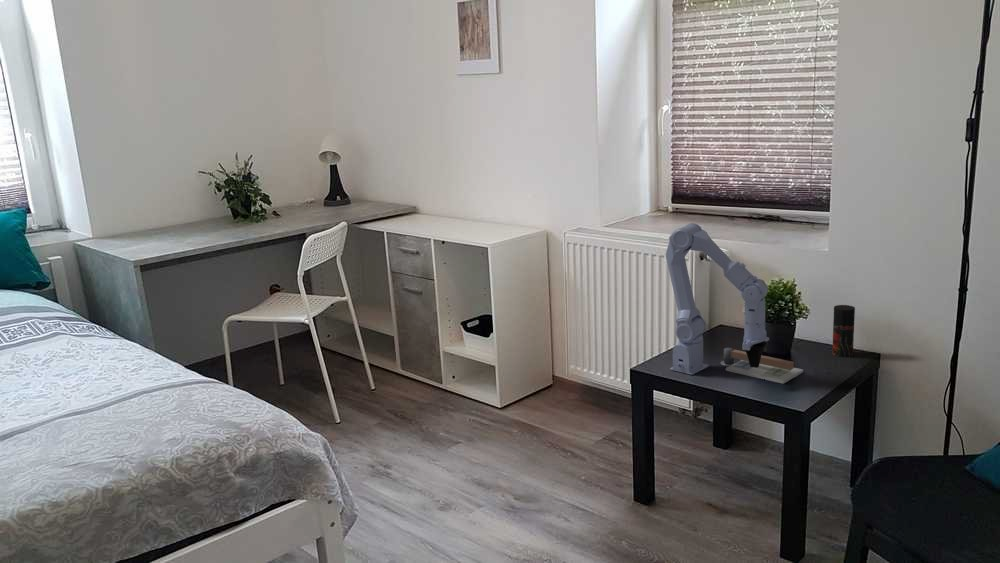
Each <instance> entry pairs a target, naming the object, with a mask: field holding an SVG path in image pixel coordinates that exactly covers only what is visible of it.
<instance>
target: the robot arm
mask: <svg viewBox="0 0 1000 563" xmlns="http://www.w3.org/2000/svg"><path fill="white" fill-rule="evenodd" d="M709 235H710V234H708V232H707V231H706V230H705V229H702V227H701V226H700V225H699V224H698V223H694V222H693V223H692V222H691V223H688V224H686V225H684V226H682V227H678V228H676V229H675V230H674V231H672V233H671V234H670V236H668V245H667V248H666V252H665V258H666V263H667V268H668V273H669V276H670V282H671V285H672V290H673V294H674V299H675V303H676V308H677V314H676V318H675V324H676V325H675V326H676V327H675V330H674V331H675V336H676V338H677V339H678V342H677V344H676V345H675V346H674V347H673V349H672V366H671V367H670V368H669V369H670V370H671V371H674V372H679V373H682V374H687V375H690V376H691V375H695V374H697V373H699V372H701V371H703V370H705V369H707V368H709V367H710V365H709V364H706V363H704V337H703V333H704V332H705V331H706V329H707V323H706V321H705V319H704V318H703V317H702V315H701V314H702V313H701V311H700V310H699V308H697V307H696V303H695V298H694V294H693V293H694V292H693V288H692V284H691V280H690V277H689V276H690V275H689V271H688V267H687V263H686V258H685V257H686V256H687V254H688V253H689V252H690V251H694V252H696V251H697V252H703V253H704V254H705V255H706V256H707V257H708V258H710V259H711V260H712V261H713V262H714V263H716V264H717V265H718V266H719V267H720V268H721V269H722V270H723V276H724V278H726V279H727V280H728V282H730V283H731V284H732V285H733V286H734V287H735V288H736V289H737V290H738V291H739V292H741V293H740V294H741V298H742V299H743V301H744V323H743V324H744V325H743V326H744V329H743V330H744V335H743V342H742V343H741V344H742V347H741V348H742V350H743V351H744V352H746V353H747V356H748V360H749V364H750V367H754V368H757V367H759V364H760V359H761V355H763V352H764V350H765V348H766V346H767V342H768V341H770V337H768V336H767V330H766V296H767V295H768V292H769V286H768V284H767V283H766V282H765V280H763V279H760V278H758V277H757V276H756V275H753V274H752V273H751V271H749V270H748V269H747V268H746V264H745V263H743V262H742V263H740V261H733V260H732V259H731V258H730V257H729V256H728V255H727V254H726V253H725V252H724V251H723V250H722V249H721V247H719V246H718V245H717V244H716V243H715V241H714V240H713V239H712V238H711V237H710V236H709ZM742 350H741V351H742Z"/></svg>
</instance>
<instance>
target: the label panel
mask: <svg viewBox="0 0 1000 563" xmlns="http://www.w3.org/2000/svg"><path fill="white" fill-rule="evenodd" d="M720 365H722V366H723V367H726V368H725V371H727V372H731V373H735V374H739V375H744V376H747V377H752V378H756V379H761V380H764V379H765V381H769V382H773V383H779V384H786V383H787V382H789V381H790V380H792V379H793V378H796V377H798V376H799V375H801V374H802V373H804V369H801V368H797V367H794V368H793V369H792V370H786V369H782V368H777V367H772V366H768V365H763V364H759V367H757V368H754V367H750V364H749V361H745V360H740V359H739V360H738V361H735V360H734V363H731V364H727V363H724V360H721V361H720Z"/></svg>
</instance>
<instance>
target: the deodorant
mask: <svg viewBox="0 0 1000 563" xmlns="http://www.w3.org/2000/svg"><path fill="white" fill-rule="evenodd" d="M855 311H856V308H855V306H853V305H848V304H837V305H834V307H833V322H832V323H833V324H832V325H833V328H832V329H833V330H832V352H831V354H832V355H833V356H836V357H839V358H847V357H848V358H849V357H852V356H854V336H855V317H856V316H855V313H856V312H855Z"/></svg>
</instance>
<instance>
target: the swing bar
mask: <svg viewBox="0 0 1000 563" xmlns="http://www.w3.org/2000/svg"><path fill="white" fill-rule="evenodd" d="M735 359H737V360H739V361H740V360H745V361H749V360H748V356H747V353H746V351H744V350H743V351H742V350H737V349H734V348H733V347H725V348H723V361H724V363H727V364H731V363H734V361H735ZM760 364H763V365H768V366H772V367H777V368H782V369H786V370H792V369H793V368H795V367H794V365H795V362H794V361H790V360H786V359H782V358H777V357H771V356H767V355H763V354H762V355H761V359H760Z"/></svg>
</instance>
